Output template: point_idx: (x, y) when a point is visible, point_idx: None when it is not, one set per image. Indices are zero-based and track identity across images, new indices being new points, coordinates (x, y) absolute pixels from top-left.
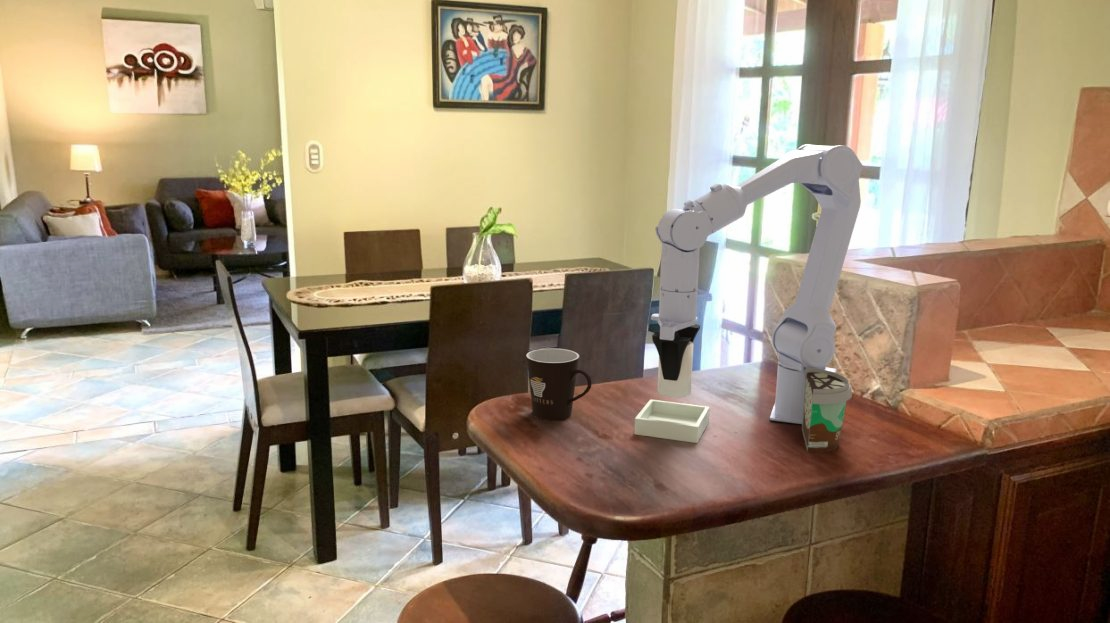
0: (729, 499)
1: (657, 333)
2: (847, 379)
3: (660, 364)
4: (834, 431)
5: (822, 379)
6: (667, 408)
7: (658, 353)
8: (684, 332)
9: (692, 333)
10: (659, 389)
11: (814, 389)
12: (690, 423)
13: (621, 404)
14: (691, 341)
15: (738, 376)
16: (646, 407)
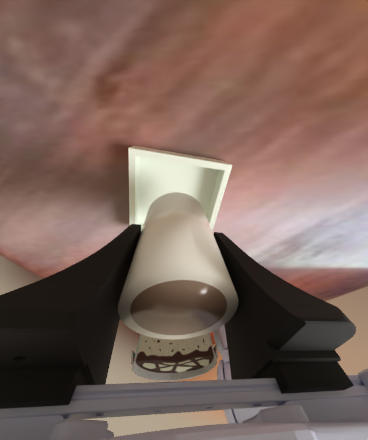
0: (8, 256)
1: (52, 343)
2: (179, 379)
3: (152, 229)
4: None
5: (192, 362)
6: (215, 190)
7: (82, 260)
8: (242, 348)
9: (233, 359)
10: (157, 200)
11: (132, 369)
12: None
13: (271, 103)
14: (225, 327)
15: (358, 251)
16: (189, 162)
